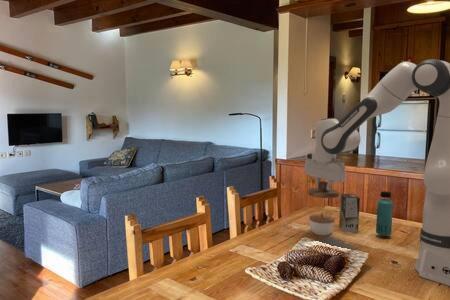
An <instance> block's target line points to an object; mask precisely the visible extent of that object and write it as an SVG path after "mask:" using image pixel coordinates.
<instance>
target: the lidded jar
mask: <svg viewBox="0 0 450 300" xmlns="http://www.w3.org/2000/svg"><path fill="white" fill-rule="evenodd" d="M308 219H309V227H310V230H311V232H312V233H313V234H314V235H317V236H324V237H325V236H326V237H327V236H328V235H330V234H332V232H333V231H334V228H335V217H334V216H333V215H329V214H325V213H315V214H311V215H309V218H308Z"/></svg>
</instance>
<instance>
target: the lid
mask: <svg viewBox="0 0 450 300" xmlns="http://www.w3.org/2000/svg"><path fill="white" fill-rule="evenodd" d="M327 184H328V182H327V181H325V180H322V181H321V182H319V186H318V188H317V187H316V188H315V187H313V188H308V189H307V195H309V196H310V197H315V198H321V199H334V198H335V199H336V198H338V197H339V198H340V192H339V191H338V190H336V189H333V188H330V190H325V186H327Z"/></svg>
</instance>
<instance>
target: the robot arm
mask: <svg viewBox="0 0 450 300" xmlns="http://www.w3.org/2000/svg"><path fill="white" fill-rule="evenodd" d="M417 90H419V91H421V92H423V93H425V94H427V95H430V96H433V97H436V98H437V99H438V100H439V107H438V110H437V111H438V112H437V116H436V121H435V125H434V131H433V136H432V140H431V144H430V148H429V151H428V155H427V159H426V163H425V167H424V171H423V175H422V176H423V177H422V179H423V183H424V185H425V187H426V189H425V190H426V191H425V196H424V201H423V203H424V204H423V209H422V211H423V212H422V224H421V225H422V226H421V228H420V234H419V241H420V244H419V246H420V247H419V252H418V255H417V258H416V262H415V264H414V269H415V270H416V271H417V272H418V276H419V277H420V278H423V279H426V280H429V281H432V282H435V283H438V284H441V285H445V286H448V287H450V62H447V61H444V60H440V59H435V58H429V59H426V60H423V61H421V62H418V63H417V64H416V63H413V62H410V61H403V62H400V63H398V64H397V65H396V66H395V67H393V68H392V69H391V70H389V71H388V73H386V74H385V76H383V77H382V78H381V80H380V81H379V82H378V83H377V84H376V85H375V86H374V87H373V89H372V90H371V91H370V92H368V94H367V95H366V96H364V98H363V99H361V101H360V102H358V104H356V106H354V107H353V108H352V109H351V110H349V112H348V113H347V114H346V115H345V116H344V117H343V118H341V120H340V121H339V120H338V119H337V118H334V117H329V118H327V117H326V118H322V119H319V120H318V121H317V123H316V128H315V148H314V151H313V152H309V153H308V152H307V153H306V154H305V162H304V173H305V175H306V176H311V177H315V179H314V180H315V181H316V184H317V185H316V188H318V186H319V182H322V181H321V180H322V179H323V180H326V182H328V184H327V186H325V190H330V189H331V187H332V185H333V183H334V182H335V183H344V182H345V181H346V177H347V176H346V162H344V160H342V159H339V158H337V154H340V153H345V152H348V151H349V152H350V151H353V150H356V149H357V148H359V145H360V144H361V135H360V132H359V131H358V129H359V128H360V127H361V126H362V125H363V124H364V123H366V122H367V121H369V120H370V119H373V118H374V117H377V116H381V115H385V114H389V113H390V112H392V111H394V110H395V109H396V108H398V107H400V106H401V104H402V103H404V101H406V99H408V97H409V96H410V95H412V94H413V93H414V92H415V91H417Z"/></svg>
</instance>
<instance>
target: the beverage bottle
mask: <svg viewBox="0 0 450 300" xmlns="http://www.w3.org/2000/svg"><path fill="white" fill-rule="evenodd" d="M391 193H392V192H390V191H384V190H383V191H382V190H381V192H380V196H379V197H381V198H380V199H378V200H377V206H376V207H377V208H376V219H375V220H376V223H375V224H376V225H375V232H376V234H377V235H379V236H382V237H383V236H386V237H387V236H392V232H393V231H392V229H393V228H392V227H393V209H394V207H393V206H394V202H393V200H391V199H389V198H391V197H392V194H391Z"/></svg>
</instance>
